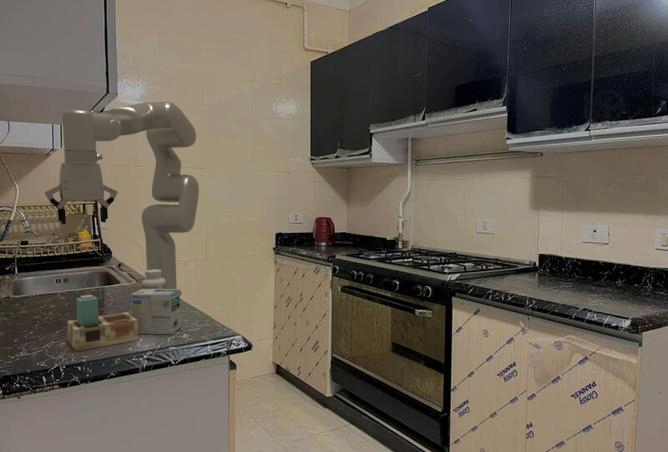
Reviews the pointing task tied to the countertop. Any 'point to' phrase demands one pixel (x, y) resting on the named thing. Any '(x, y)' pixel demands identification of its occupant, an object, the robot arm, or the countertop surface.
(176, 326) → the light bulb box
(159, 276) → the supplement bottle
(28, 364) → the countertop surface
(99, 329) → the socket block
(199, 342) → the countertop surface
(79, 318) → the teal tall block
